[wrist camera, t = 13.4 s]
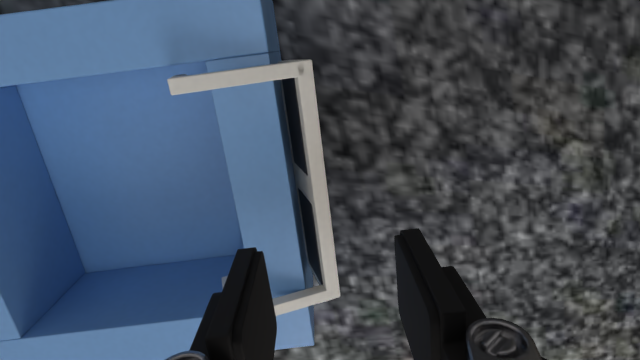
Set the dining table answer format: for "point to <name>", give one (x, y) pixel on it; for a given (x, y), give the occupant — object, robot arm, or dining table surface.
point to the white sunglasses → (305, 165)
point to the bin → (139, 177)
